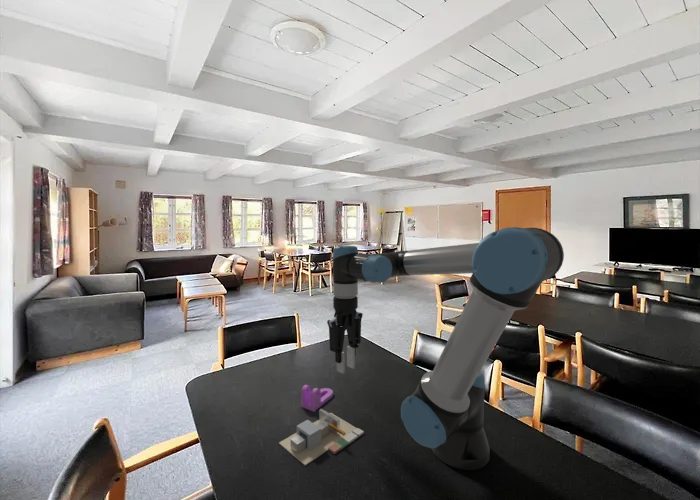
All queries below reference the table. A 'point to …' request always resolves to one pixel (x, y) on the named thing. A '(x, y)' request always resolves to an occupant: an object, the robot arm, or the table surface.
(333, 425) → the grey sliding clamp
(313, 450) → the beige mechanism board
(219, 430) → the table surface
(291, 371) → the table surface
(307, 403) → the bracket
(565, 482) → the table surface
